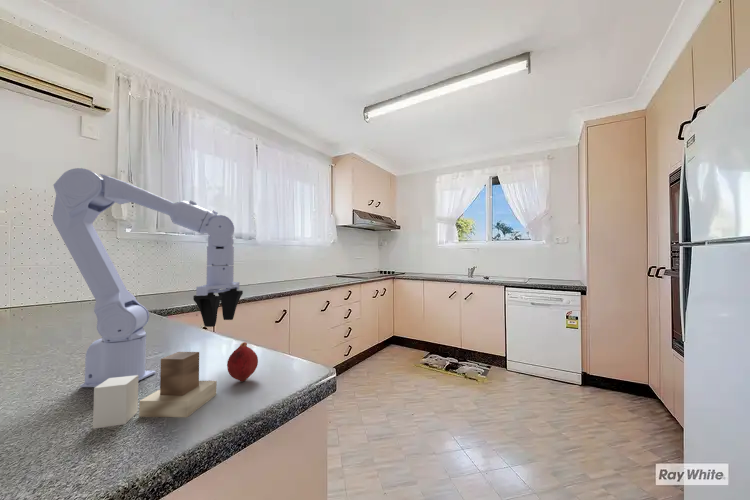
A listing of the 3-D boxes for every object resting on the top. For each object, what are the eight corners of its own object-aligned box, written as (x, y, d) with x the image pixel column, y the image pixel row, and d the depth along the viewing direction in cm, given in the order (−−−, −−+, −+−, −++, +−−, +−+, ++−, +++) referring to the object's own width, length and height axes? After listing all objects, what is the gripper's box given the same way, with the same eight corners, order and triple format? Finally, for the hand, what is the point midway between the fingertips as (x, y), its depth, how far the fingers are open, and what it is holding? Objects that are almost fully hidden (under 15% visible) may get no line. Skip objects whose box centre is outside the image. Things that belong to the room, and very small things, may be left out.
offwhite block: (92, 428, 44) (94, 388, 44) (108, 415, 47) (109, 378, 48) (125, 424, 45) (126, 384, 45) (137, 411, 49) (138, 375, 49)
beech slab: (139, 419, 47) (139, 400, 47) (174, 396, 55) (175, 380, 55) (187, 420, 47) (187, 401, 47) (216, 397, 55) (216, 380, 55)
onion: (245, 388, 57) (246, 347, 57) (220, 386, 58) (220, 345, 59) (263, 377, 63) (263, 339, 63) (239, 375, 64) (239, 338, 64)
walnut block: (160, 395, 49) (160, 359, 49) (178, 385, 53) (178, 351, 53) (182, 395, 49) (183, 359, 49) (198, 385, 53) (199, 351, 53)
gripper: (219, 266, 63) (218, 329, 62) (250, 265, 77) (250, 317, 76) (187, 266, 63) (186, 329, 62) (224, 265, 77) (224, 317, 77)
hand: (219, 322), depth 69 cm, fingers open, 7 cm apart
